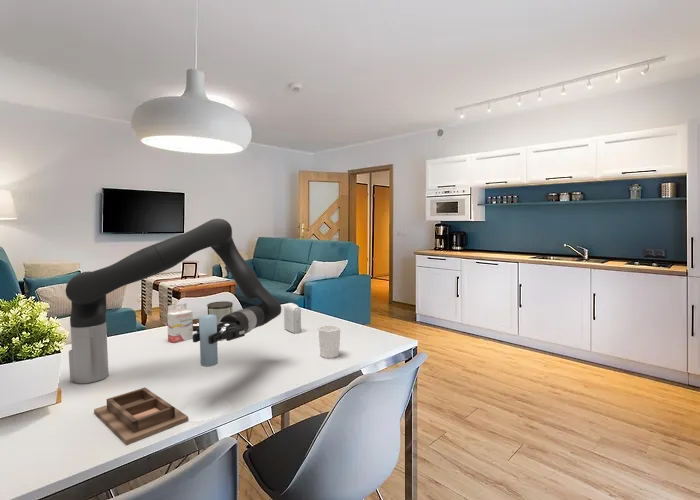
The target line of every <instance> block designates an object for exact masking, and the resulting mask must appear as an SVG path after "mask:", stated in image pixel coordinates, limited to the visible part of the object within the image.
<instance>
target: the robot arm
mask: <svg viewBox="0 0 700 500" xmlns="http://www.w3.org/2000/svg"><path fill="white" fill-rule="evenodd" d="M232 228H233V227H232V226H231V224H230V222H229V221H227V220H225V219H223V218H213V219H210V220H208V221H206V222H204V223H203V224H201V225H198V226H197V227H194V228H192V229H191V230H189V231H186V232H184V233H181V234H178V235H176V236H172V237H169V238H168V239H165V240H162V241H159V242H156V243H154V244H151V245H148V246H147V247H144V248H143V247H142V248H141V249H139V250H137V251H134V252H133V253H131V254H129V255H127V256H125V257H124V258H122V259H120V260H118V261H117V262H115V263H113V264H111V265H109V266H105V267H103V268H99V269H95V270H93V271H83V272H80V273H77V275H74V276H73V277H71V278H70V280H69V281H68V282H67V284H66V287H65V294H66V297H67V299H69V301H71V312H70V318H69V325H70V339H71V340H70V342H71V349H70V350H68V362H69V363H68V364H69V365H68V366H69V380H70V382H74V383H75V384H89V383H95V382H98V381H101V380H103V379H106V378H108V376H109V375H110V374H109V355H108V336H107V335H108V334H107V333H108V332H107V295H108V294H110V293H111V292H114V291H115V290H118V289H119V288H121V287H124V286H127V285H130V284H134V283H136V282H139V281H142V280H143V281H144V280H145V279H148V278H150V277H153V276H156V275H159V274H161V273H163V272H165V271H168V270H169V269H171V268H174V267H175V266H177V265H179V264H180V263H182V262H183V261H185V260H186V259H187V258H189V257H190V256H191V255H193V254H195V253H197V252H199V251H202V250H204V249H208V248H211V249H212V250H213V251H214V252H215V253H216V254H217V255H218V257H219V258H220V259H221V261H222V262H223V264H224V265H225V266H226V269H227V270H228V272H229V273H230V274H231V276H232V278H233V280H234V282H235V284H236V285H237V287H238V288H239V290H240V292H241V293H242V295H243V297H244V298H245V299H246V300H248V301H252V300H254V299H258V300H260V301H261V302H260V303H258V304H257V305H251V306H248V307H245V308H243V309H238V310H236V311H233V313H230V314H227V315H225V316H224V317H223V318H222V319H221V321H220V322H218V323H217V333H215V334H212V335H210V336H209V337H208V341H209V344H213V343H215V342H217V343H218V342H224V341H228V342H229V341H232V340H237V339H240V338H243V337H245V336H246V335H247V334H248V333H250V332H252V330H254V329H256V328H260V327H262V326H264V325H266V324H268V323H269V322H270V321H272V320H274V319H275V318H277V317H278V316H280V315H281V313H282V306H281V303H280V302H279V300H278V299H277V298H276V297H275V296H273V294H272V293H270V292H269V290H267V289H266V288H265V286H263V284H262V283H261V281H260V279H259V277H258V276H257V274H256V273H255V272H254V270H253V269H252V268H251V266H250V265H249V264H248V263H247V262H246V260H245V259H244V258H243V257H242V255H241V254H240V252H239V250H238V247H236V243H235V242H234V239H233V229H232ZM198 342H200V329H199V328H197V330H196V332H195V333H193V339H192V343H198Z"/></svg>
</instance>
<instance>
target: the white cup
mask: <svg viewBox="0 0 700 500" xmlns="http://www.w3.org/2000/svg"><path fill="white" fill-rule="evenodd" d="M318 341H319V354H320V355H319V356H320V357H322V358H325V359H334V358H338V357H339V356H340V344H341V343H340V341H341V327H340V326H338V325H333V324H332V325H322V326H319V327H318Z"/></svg>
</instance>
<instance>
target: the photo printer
mask: <svg viewBox="0 0 700 500" xmlns="http://www.w3.org/2000/svg"><path fill="white" fill-rule="evenodd" d="M283 315H284V316H283V317H284V318H283V321H284V323H283V324H284V326H283V327H284V330H286V331H289V332H290V333H293V334H300V333H301V331H302V317H301V315H302V310H301V308H300V307H299V305H298V304H296V303H293V302H288V303H286V304H284V306H283Z"/></svg>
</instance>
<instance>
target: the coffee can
mask: <svg viewBox="0 0 700 500" xmlns="http://www.w3.org/2000/svg"><path fill="white" fill-rule="evenodd" d="M233 305H234V303H233V302H232V301H227V300H226V301H225V300H223V301H213V302H209V303H207V305H206V306H207V315H216V316H217V323H218V322H220V321H221V319H222V318H223V317H224V316H225V315H227V314H230V313H233V312H234V310H233V309H234V307H233Z"/></svg>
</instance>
